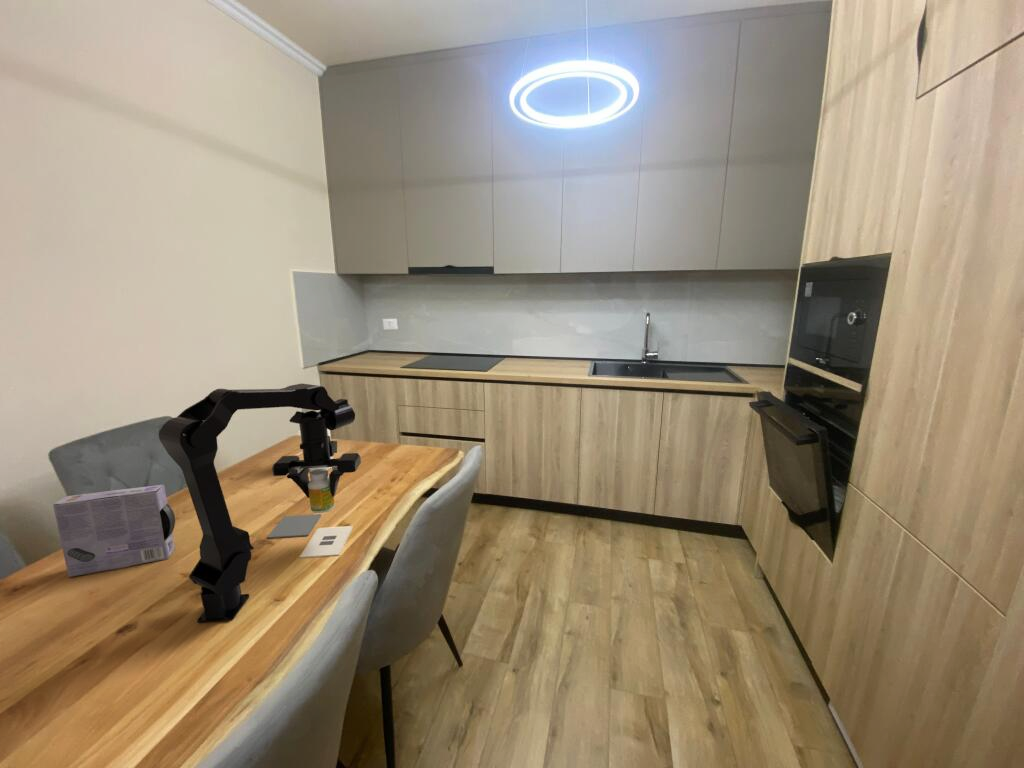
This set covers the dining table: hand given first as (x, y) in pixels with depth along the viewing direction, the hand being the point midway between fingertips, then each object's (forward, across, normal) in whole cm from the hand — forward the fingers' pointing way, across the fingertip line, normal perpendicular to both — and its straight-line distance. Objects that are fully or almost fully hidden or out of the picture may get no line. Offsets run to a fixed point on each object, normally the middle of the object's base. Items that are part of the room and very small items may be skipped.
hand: (321, 496), depth 99 cm
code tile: (+12, 0, 0) cm, 12 cm away
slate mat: (+12, +11, -8) cm, 18 cm away
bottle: (+12, +17, -46) cm, 50 cm away
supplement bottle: (+3, 0, 0) cm, 3 cm away
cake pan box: (+13, +44, +3) cm, 46 cm away
